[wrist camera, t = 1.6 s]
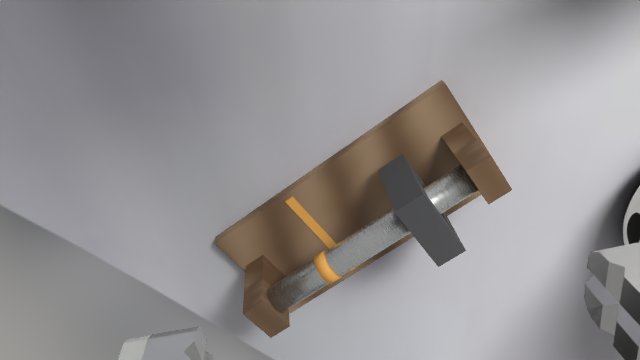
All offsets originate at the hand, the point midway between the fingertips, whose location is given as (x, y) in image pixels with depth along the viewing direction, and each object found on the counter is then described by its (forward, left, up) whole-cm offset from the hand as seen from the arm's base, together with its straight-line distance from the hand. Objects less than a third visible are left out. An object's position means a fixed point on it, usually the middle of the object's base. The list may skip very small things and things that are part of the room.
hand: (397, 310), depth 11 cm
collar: (+1, +16, -28) cm, 33 cm away
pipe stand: (+6, +16, -31) cm, 35 cm away
